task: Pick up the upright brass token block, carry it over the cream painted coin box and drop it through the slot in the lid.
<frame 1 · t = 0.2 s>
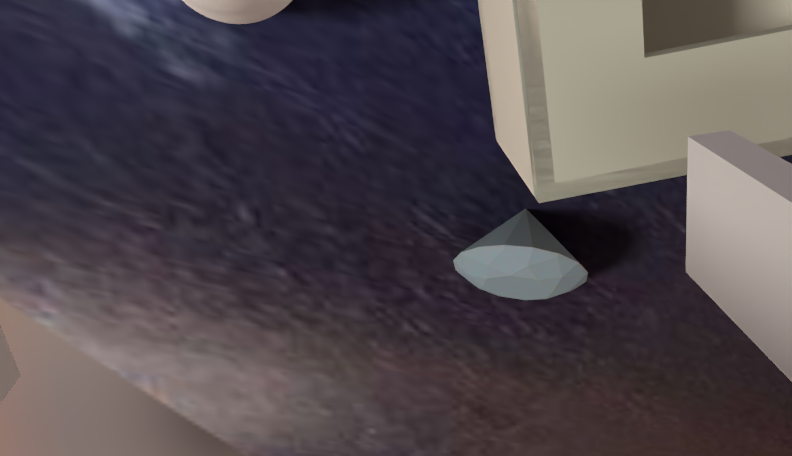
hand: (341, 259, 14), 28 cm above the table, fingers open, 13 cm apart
gemstone: (509, 248, 45), on the table
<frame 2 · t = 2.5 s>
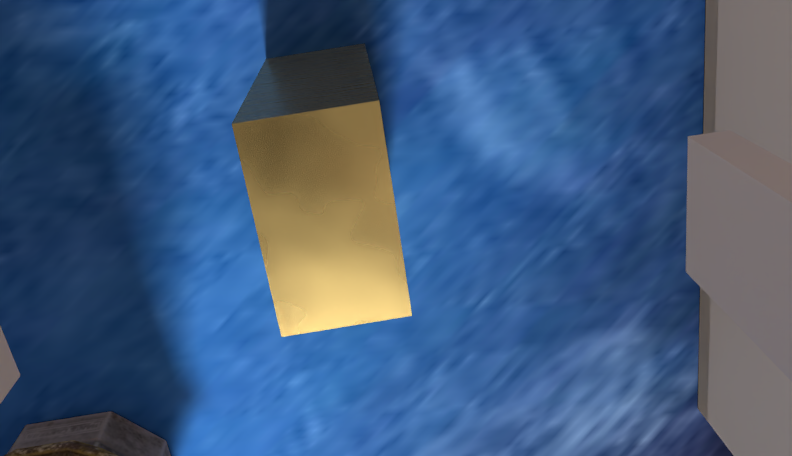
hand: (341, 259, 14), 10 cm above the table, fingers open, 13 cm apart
token: (329, 131, 23), on the table
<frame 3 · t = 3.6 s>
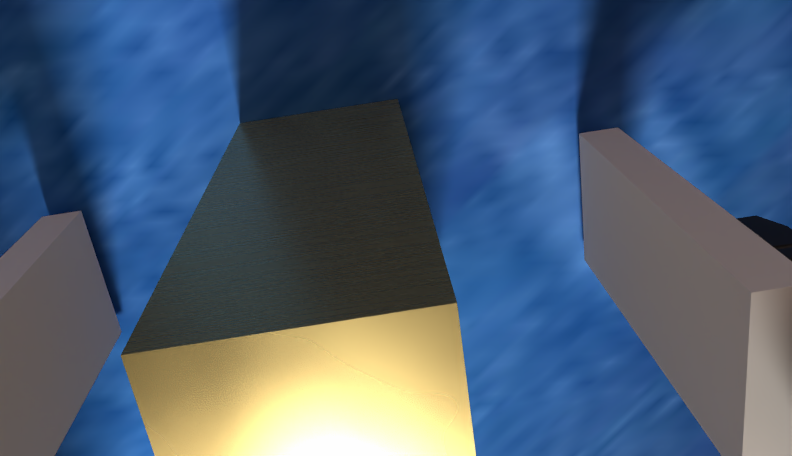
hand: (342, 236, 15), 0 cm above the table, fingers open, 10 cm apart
token: (341, 231, 15), on the table
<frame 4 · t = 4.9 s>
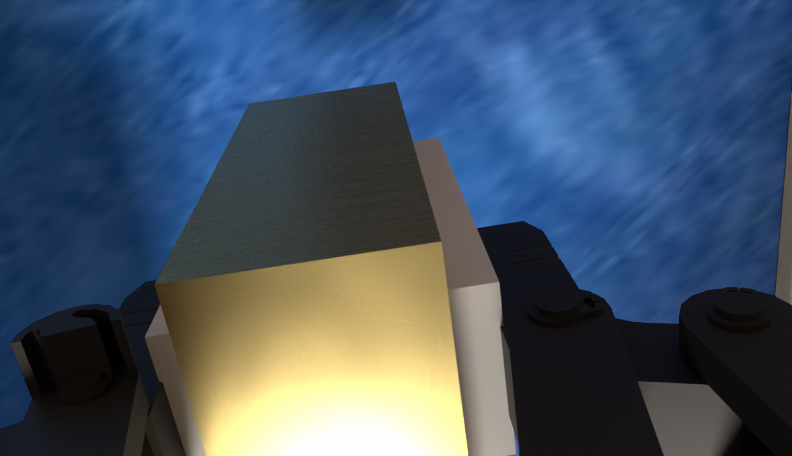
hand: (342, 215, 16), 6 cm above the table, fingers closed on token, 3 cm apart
token: (342, 206, 16), point 5 cm above the table, touching gripper
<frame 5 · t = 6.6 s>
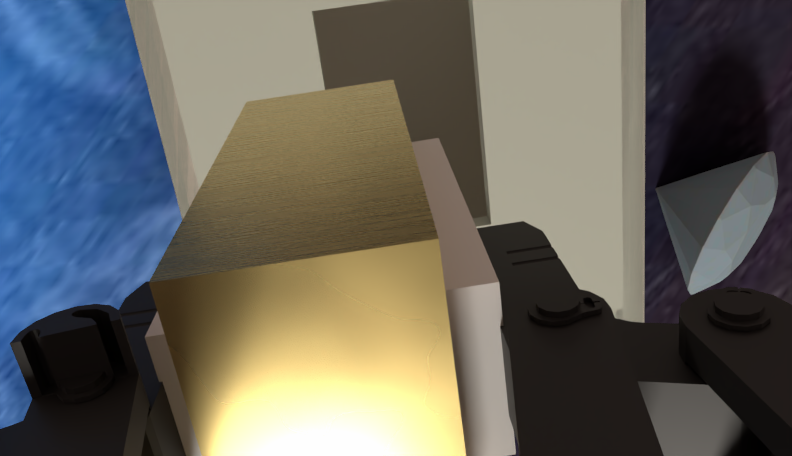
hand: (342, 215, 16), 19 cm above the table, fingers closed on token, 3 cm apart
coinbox: (388, 69, 34), on the table
gemstone: (701, 202, 38), on the table
token: (340, 204, 16), point 19 cm above the table, touching gripper
when the fingers open (11 cm above the table, at t = 8.2 s): token drops 9 cm, resting on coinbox.
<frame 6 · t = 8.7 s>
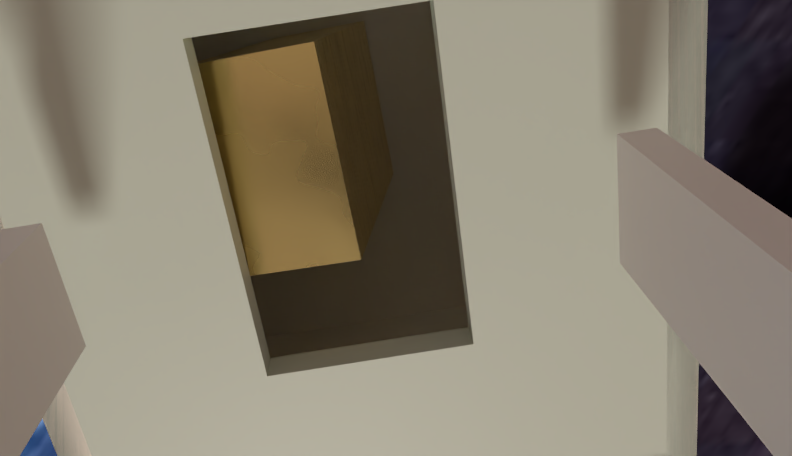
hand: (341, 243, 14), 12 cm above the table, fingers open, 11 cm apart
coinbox: (343, 101, 25), on the table
token: (334, 107, 24), point 1 cm above the table, tilted 10°, touching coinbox
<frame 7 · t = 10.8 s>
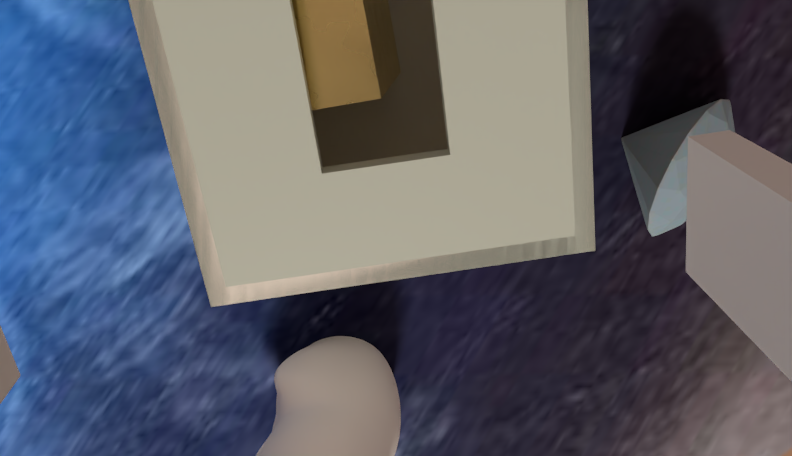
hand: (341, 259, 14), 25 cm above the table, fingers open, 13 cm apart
figurine: (333, 375, 44), on the table
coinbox: (365, 23, 36), on the table
gemstone: (665, 151, 40), on the table
token: (360, 24, 35), point 1 cm above the table, tilted 10°, touching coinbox
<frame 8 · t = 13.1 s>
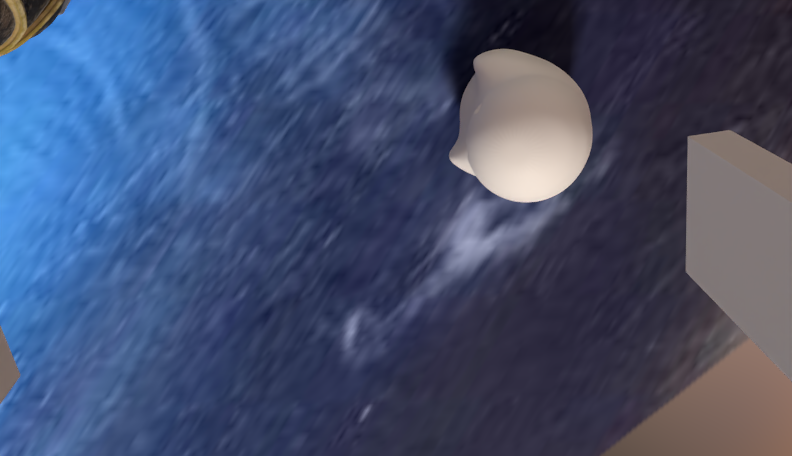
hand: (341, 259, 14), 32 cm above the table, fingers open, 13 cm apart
figurine: (505, 102, 45), on the table
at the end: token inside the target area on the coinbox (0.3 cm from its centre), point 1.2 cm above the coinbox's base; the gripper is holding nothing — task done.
